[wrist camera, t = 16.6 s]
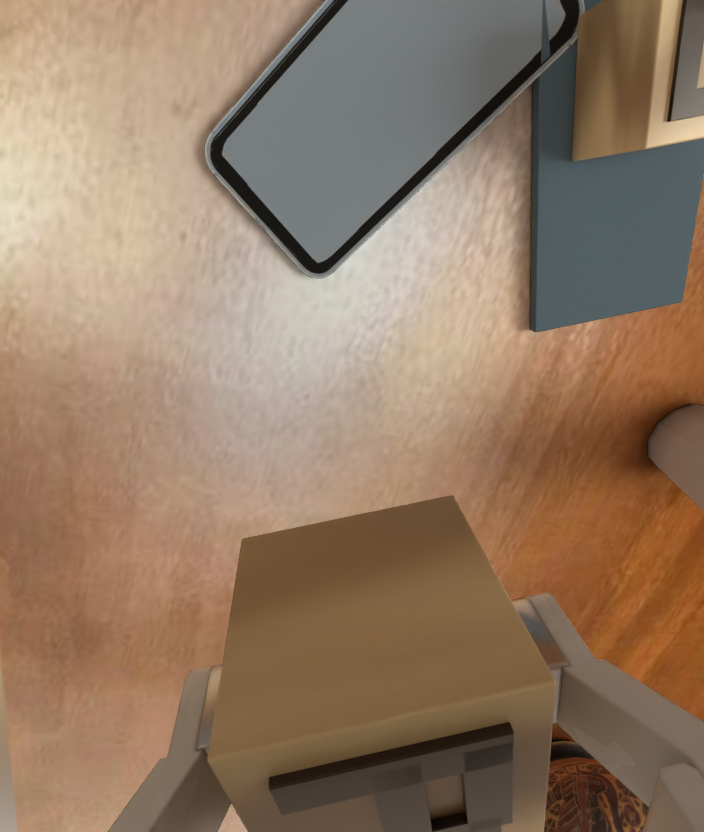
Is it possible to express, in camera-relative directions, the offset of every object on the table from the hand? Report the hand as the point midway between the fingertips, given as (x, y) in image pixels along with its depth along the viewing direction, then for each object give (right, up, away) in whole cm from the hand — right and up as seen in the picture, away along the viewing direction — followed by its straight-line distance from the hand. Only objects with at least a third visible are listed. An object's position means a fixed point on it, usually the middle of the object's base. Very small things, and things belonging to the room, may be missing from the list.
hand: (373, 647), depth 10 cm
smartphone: (+1, +19, +9) cm, 21 cm away
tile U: (+11, +19, +8) cm, 24 cm away
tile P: (0, +1, +1) cm, 2 cm away
